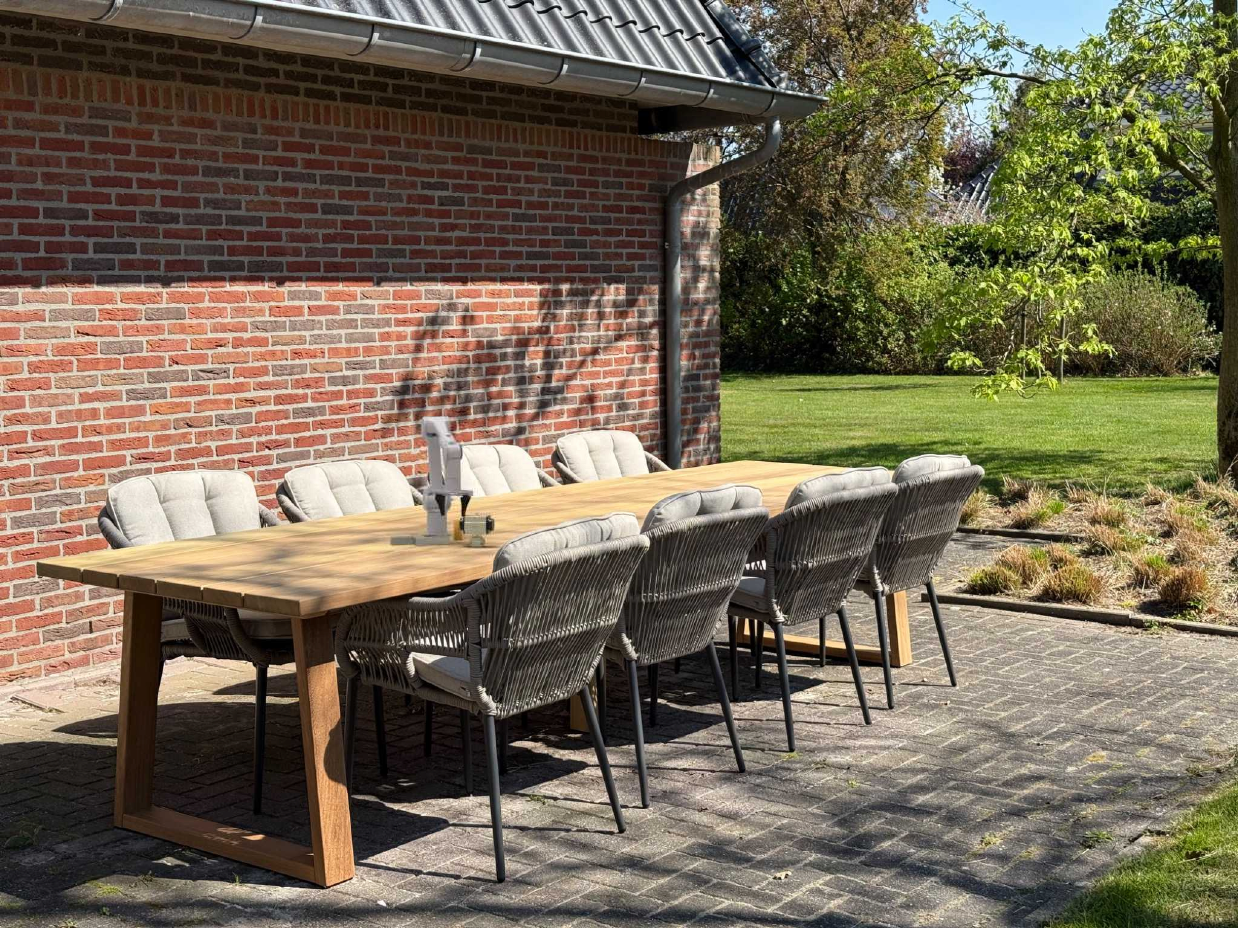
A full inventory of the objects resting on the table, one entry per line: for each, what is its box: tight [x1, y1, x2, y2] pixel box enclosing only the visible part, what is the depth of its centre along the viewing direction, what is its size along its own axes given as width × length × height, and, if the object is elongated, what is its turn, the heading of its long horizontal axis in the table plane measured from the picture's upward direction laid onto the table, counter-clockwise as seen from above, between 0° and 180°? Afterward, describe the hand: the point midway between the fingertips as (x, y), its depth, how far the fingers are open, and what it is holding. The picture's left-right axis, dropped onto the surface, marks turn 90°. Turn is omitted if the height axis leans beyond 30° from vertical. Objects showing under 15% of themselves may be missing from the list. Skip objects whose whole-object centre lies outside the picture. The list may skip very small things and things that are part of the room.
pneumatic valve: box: [459, 512, 496, 548], centre depth 522 cm, size 6×12×12 cm, turn 82°
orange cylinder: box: [453, 519, 463, 541], centre depth 540 cm, size 3×3×7 cm
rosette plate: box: [389, 533, 451, 547], centre depth 532 cm, size 12×20×2 cm, turn 107°
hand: (453, 515), depth 530 cm, fingers open, 7 cm apart
